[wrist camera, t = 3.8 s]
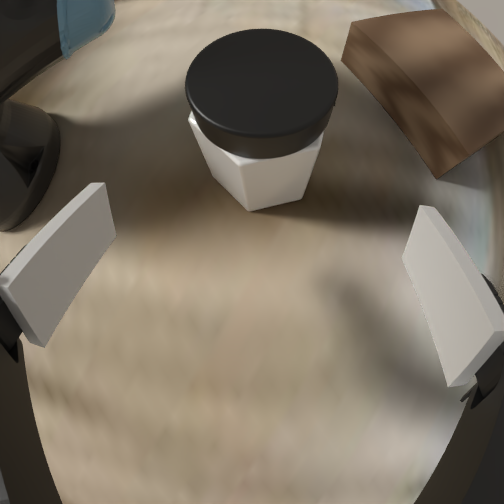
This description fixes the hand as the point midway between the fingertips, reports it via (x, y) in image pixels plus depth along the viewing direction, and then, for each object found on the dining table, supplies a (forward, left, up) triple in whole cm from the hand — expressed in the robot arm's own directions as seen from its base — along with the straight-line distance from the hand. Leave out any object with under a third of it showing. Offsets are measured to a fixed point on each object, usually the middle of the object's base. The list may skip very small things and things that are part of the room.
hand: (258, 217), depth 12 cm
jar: (-7, +4, -13) cm, 15 cm away
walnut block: (-6, +26, -13) cm, 30 cm away
